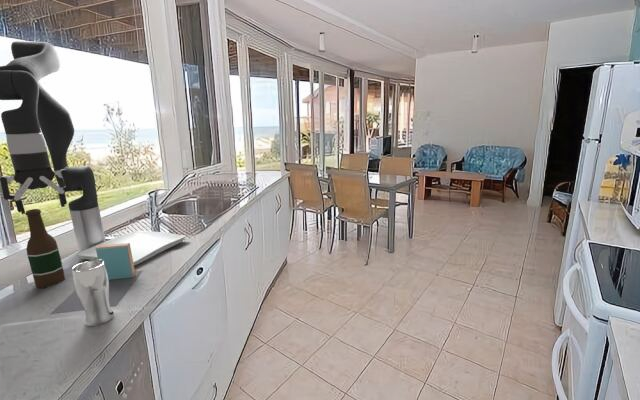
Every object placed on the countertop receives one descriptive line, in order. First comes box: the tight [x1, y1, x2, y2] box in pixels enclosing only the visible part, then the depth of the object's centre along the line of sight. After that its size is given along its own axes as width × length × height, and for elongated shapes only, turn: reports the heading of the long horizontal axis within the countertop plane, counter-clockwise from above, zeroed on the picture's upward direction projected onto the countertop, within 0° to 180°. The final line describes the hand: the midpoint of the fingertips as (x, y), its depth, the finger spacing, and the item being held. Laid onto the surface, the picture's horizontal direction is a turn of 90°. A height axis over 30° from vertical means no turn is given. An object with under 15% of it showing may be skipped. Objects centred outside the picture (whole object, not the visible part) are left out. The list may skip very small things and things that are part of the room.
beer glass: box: [71, 260, 115, 327], centre depth 82 cm, size 7×7×15 cm
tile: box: [96, 243, 136, 280], centre depth 103 cm, size 2×9×11 cm, turn 101°
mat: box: [49, 269, 144, 315], centre depth 98 cm, size 22×16×1 cm
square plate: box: [75, 229, 187, 267], centre depth 127 cm, size 27×27×4 cm
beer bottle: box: [25, 208, 66, 289], centre depth 101 cm, size 8×8×24 cm
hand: (43, 209), depth 91 cm, fingers open, 8 cm apart
